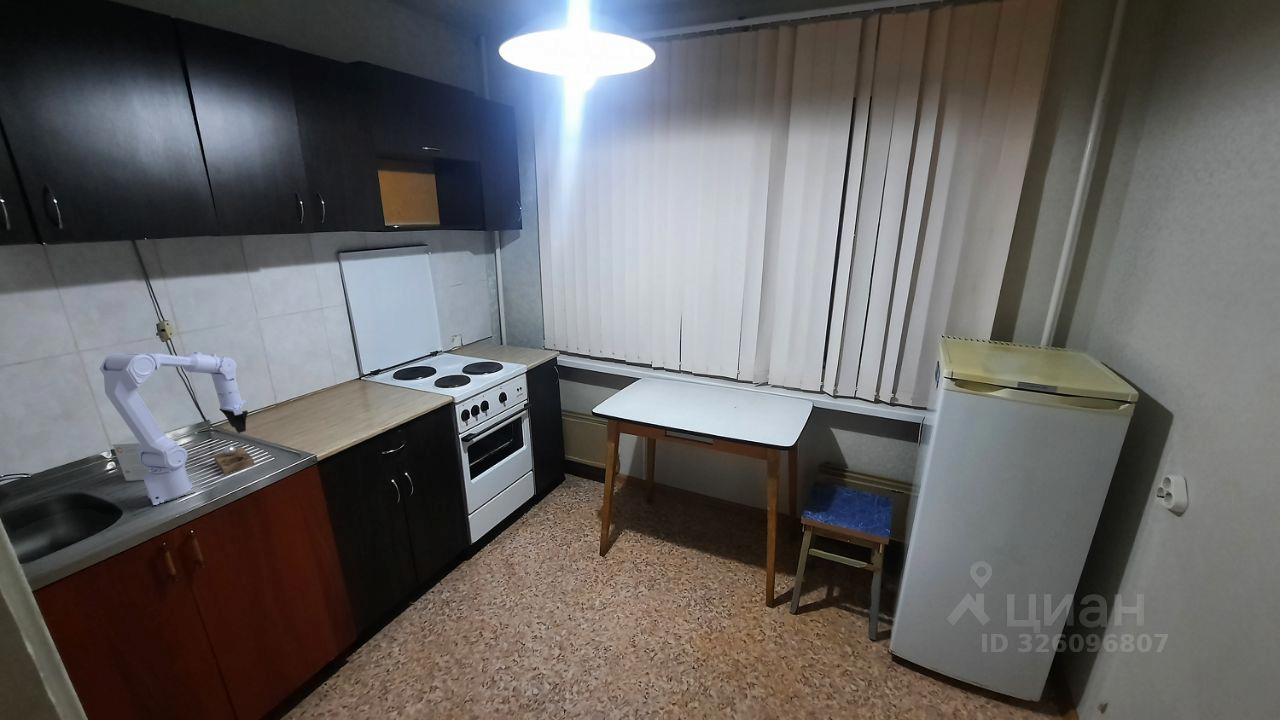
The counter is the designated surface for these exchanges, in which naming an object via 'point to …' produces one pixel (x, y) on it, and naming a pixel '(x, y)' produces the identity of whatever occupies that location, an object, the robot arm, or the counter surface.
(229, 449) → the steel ball
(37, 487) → the counter surface
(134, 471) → the small box
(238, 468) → the hole plate
